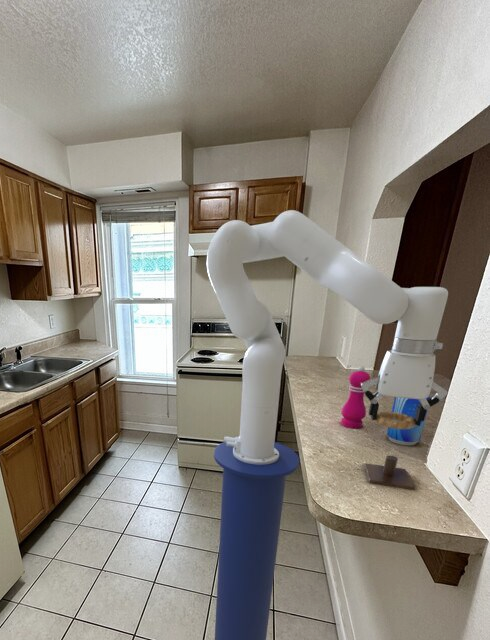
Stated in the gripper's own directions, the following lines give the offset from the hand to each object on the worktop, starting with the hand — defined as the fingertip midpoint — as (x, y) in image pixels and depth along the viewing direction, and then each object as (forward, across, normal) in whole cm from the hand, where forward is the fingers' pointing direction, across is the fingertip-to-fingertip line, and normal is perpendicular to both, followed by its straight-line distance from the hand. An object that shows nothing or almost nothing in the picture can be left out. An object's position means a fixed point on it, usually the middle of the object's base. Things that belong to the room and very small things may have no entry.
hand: (394, 420), depth 83 cm
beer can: (+14, -9, -24) cm, 30 cm away
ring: (0, 0, 0) cm, 0 cm away
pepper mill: (+14, +4, -33) cm, 36 cm away
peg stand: (+14, -1, +2) cm, 14 cm away
